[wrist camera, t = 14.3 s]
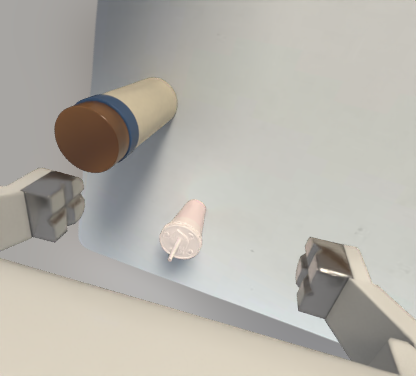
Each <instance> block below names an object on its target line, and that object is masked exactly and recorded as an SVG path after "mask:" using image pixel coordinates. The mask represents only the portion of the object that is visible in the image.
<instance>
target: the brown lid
mask: <svg viewBox="0 0 416 376" xmlns="http://www.w3.org/2000/svg"><path fill="white" fill-rule="evenodd" d="M55 138H56V142H57V144H58V147H59V149H60V151H61V152H62V154H63V155H64V156H65V157H66V159H68V161H69V162H71V163H72V164H73V165H74V166H76V167H77V168H79V169H81V170H84V171H87V172H91V173H100V172H104V171H106V170H108V169H110V168H111V167H112V166H114V165H115V164H116V163H117V162H119V161H120V160H121V159H122V158H123V157H124V156H125V154H126V153H127V151H128V148H129V132H128V129H127V126H126V124H125V122H124V120H123V119H122V118H121V116H120V115H119V114H118V113H117V112H116V111H115V110H114V109H113V108H111V107H110V106H108V105H106V104H104V103H101V102H98V101H86V102H83V103H80V104H77V105H74V106H72V107H69V108H67V109H65V110H63V111H62V112H61V113H60V114H59V116H58V118H57V120H56V123H55Z"/></svg>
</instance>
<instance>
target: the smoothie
mask: <svg viewBox="0 0 416 376" xmlns="http://www.w3.org/2000/svg"><path fill="white" fill-rule="evenodd" d="M205 213H206V207H205V205H204V204H203V203H202V202H201V201H199V200H195V199H193V200H190V201H188V202H187V203H186V204H185V206H184V207H183V208H182V209H181V210H180V211H179V213H178V214H177V215H176V216H175V217H174V219H173V220H172V221H171V222H170V223H168V224H167V225H165V226H164V228H163V229H162V231H161V233H160V237H159V240H160V244H161V246H162V248H163V249H164V251H165V252H167V253H168V254H169V258H168V261H169V262H171V261H172V259H173V257H175V258H178V259H190V258H193V257H195V256H196V255H197V254H198V253H199V251H200V249H201V247H202V238H201V236H202V230H203V224H204V218H205Z"/></svg>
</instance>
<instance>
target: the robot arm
mask: <svg viewBox="0 0 416 376" xmlns="http://www.w3.org/2000/svg"><path fill="white" fill-rule="evenodd" d="M83 190H84V185H83V180H82V179H81V178H79V177H75V176H71V175H68V174H64V173H61V172H57V171H53V170H49V169H45V168H37V169H36V170H34V171H32V172H30V173H29V174H27V175H25V176H23V177H21V178H20V179H18V180H16V181H15V182H13V183H11V184H9V185H7V186H0V251H2V250H4V249H7V248H9V247H12V246H14V245H16V244H19V243H21V242H23V241H26V240H28V239H30V238H32V237H35V238H39V239H43V240H47V241H51V242H56V241H57V240H58V239H59V238H60V237H61V236H63V235H64V234H65V233H66V232H67V226H69V225H72V224H75V223H76V222H77V221H78V220H79V219H80V218H81V216H82V214H83V212H84V207H85V199H84V198H83V197H82V195H81V194H80V193H81V192H82V191H83ZM305 251H306V253H305V254H304V255H302V256H301V257H300V259H299V262H298V265H297V269H296V284H297V285H298V287H299V290H298V292H297V303H298V311H300V312H304V313H307V314H310V315H313V316H316V317H320V318H323V319H325V321H326V323H327V324H328V326H329V327H330V329H331V330H332V332H333V334H334V335H335V337H336V338H337V340H338V341H339V343H340V344H341V346H342V347H343V349H344V351H345V352H346V354H347V355H348V357H349V358H350V360H351V361H350V360H347V359H343V358H340V357H337V356H333V355H330V354H326V353H323V352H320V351H316V350H313V349H309V348H306V347H302V346H299V345H295V344H292V343H288V342H285V341H281V340H278V339H274V338H271V337H268V336H265V335H261V334H258V333H254V332H251V331H248V330H244V329H241V328H237V327H234V326H230V325H227V324H223V323H220V322H217V321H213V320H210V319H207V318H203V317H200V316H197V315H193V314H190V313H186V312H183V311H180V310H176V309H173V308H169V307H166V306H163V305H159V304H156V303H152V302H149V301H145V300H142V299H139V298H135V297H132V296H128V295H125V294H121V293H118V292H115V291H111V290H108V289H104V288H101V287H97V286H94V285H91V284H87V283H83V282H80V281H77V280H73V279H70V278H66V277H63V276H60V275H56V274H53V273H50V272H46V271H43V270H39V269H36V268H32V267H29V266H25V265H22V264H19V263H15V262H12V261H9V260H5V259H1V258H0V376H416V320H415V319H414V318H413V317H412V316H411V315H410V314H409V313H408V312H407V311H405V310H404V309H403V308H402V307H401V306H400V305H399V304H398V303H397V302H396V301H394V300H393V299H392V298H391V297H390V296H389V295H388V294H387V293H386V292H385V291H384V290H382V289H381V288H380V287H379V286H378V285H375V284H373V283H372V281H371V278H370V275H369V273H368V270H367V268H366V265H365V263H364V260H363V258H362V255H361V253H360V250H359V249H358V248H357V247H353V246H348V245H344V244H338V243H334V242H330V241H326V240H321V239H317V238H313V237H310V238H309V239H308V240H307V243H306V245H305Z"/></svg>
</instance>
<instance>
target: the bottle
mask: <svg viewBox="0 0 416 376" xmlns="http://www.w3.org/2000/svg"><path fill="white" fill-rule="evenodd" d="M86 101H98V102H101V103H104V104H106V105H108V106H110V107H111V108H113V109H114V110H115V111H116V112H117V113H118V114H119V115H120V116H121V118H122V119H123V120H124V122H125V124H126V126H127V129H128V132H129V148H128V151H127V153H126V154H125V156H124V157H123V158H122V159H121V160H120V161H122V160H123V159H124V158H126V157H127V156H128V155H129V154H130V153H132V152H133V150H134V149H135V148H136V147H138V146H139V145H140V144H141V143H143V142H144V141H145V140H146V139H147V138H149V137H150V136H151V135H152V134H154V133H155V132H156V131H157V130H159V129H160V128H161V127H162V126H163V125H165V124H166V123H167V122H168V121H170V120H171V119H172V118H173V116H174V115H175V113H176V110H177V97H176V94H175V92H174V90H173V89H172V87H171V86H170V85H169V84H168V83H167V82H165V81H164V80H162V79H159V78H147V79H144V80H141V81H138V82H135V83H132V84H129V85H127V86H124V87H121V88H118V89H115V90H112V91H109V92H106V93H103V94H99V95H94V96H91V97H88V98H86V99H83V100H80V101H79V102H77V103H76V104H75V105H77V104H80V103H83V102H86ZM120 161H119V162H120ZM117 163H118V162H117Z"/></svg>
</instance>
